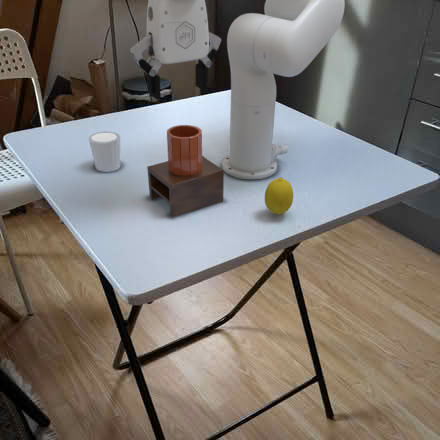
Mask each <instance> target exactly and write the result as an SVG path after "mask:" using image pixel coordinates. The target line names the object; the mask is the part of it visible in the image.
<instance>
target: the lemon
mask: <svg viewBox="0 0 440 440" xmlns="http://www.w3.org/2000/svg"><path fill="white" fill-rule="evenodd" d="M293 202H294V189H293V186H292V184H291V182H289V181H288V180H287V179H284V178H283V177H278V178H275V179H273V180H271V181H270V182H268V184H267V186H266V188H265V191H264V204H265V207H266V208H267V210H268V211H269V212H271V213H272V214H274V215H275V216H279V215H283V214H285V213H286V212H287V211H289V210H290V208H291V207H292V205H293Z"/></svg>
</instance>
